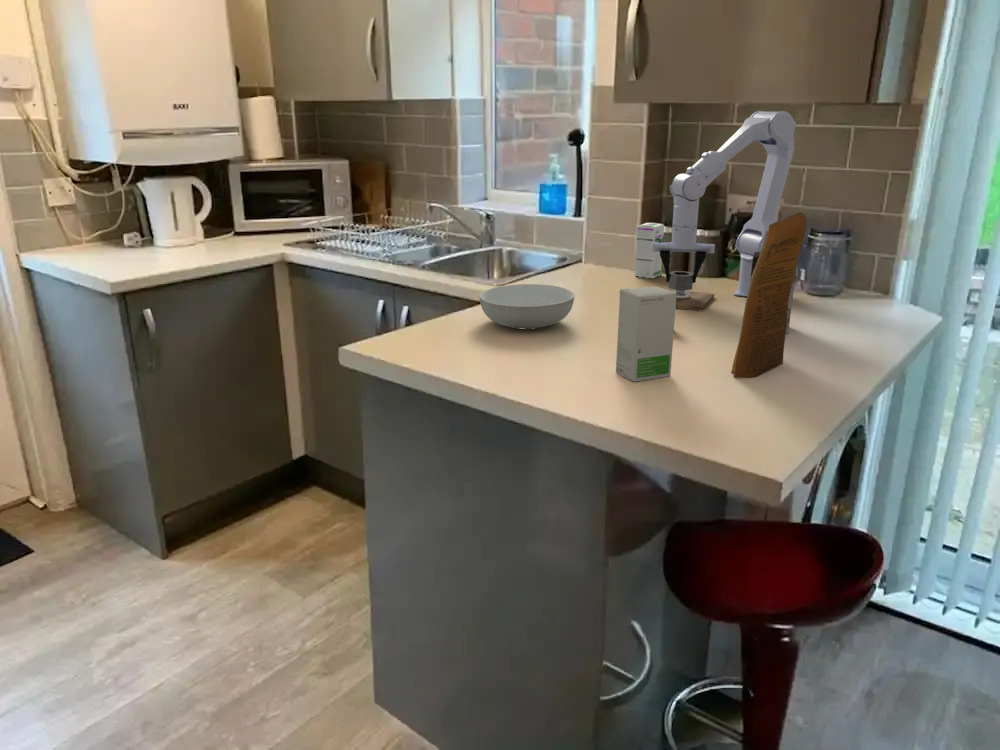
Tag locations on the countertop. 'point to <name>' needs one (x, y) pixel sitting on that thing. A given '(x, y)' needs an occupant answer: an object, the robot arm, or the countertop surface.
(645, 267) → the syrup box
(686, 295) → the piston post
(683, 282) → the ring
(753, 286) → the pancake mix bag
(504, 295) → the serving bowl
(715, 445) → the countertop surface
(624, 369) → the skincare box
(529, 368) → the countertop surface
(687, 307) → the board
